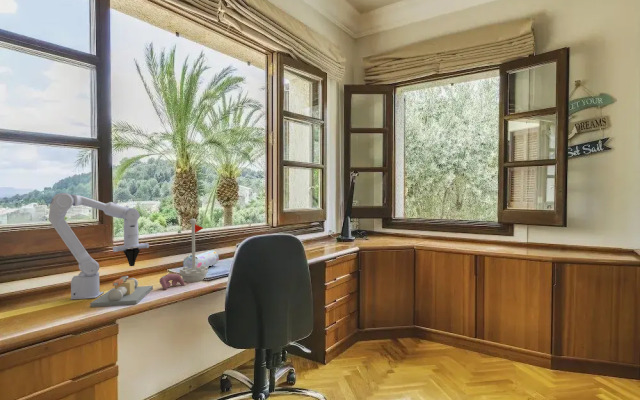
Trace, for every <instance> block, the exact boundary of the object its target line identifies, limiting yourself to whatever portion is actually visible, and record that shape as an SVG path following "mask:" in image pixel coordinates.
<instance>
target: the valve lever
mask: <svg viewBox="0 0 640 400" xmlns="http://www.w3.org/2000/svg"><path fill="white" fill-rule="evenodd" d="M126 279H127V280H128V279H129V276H128V275H122V276H120V278H117V279H115V280H114V281H112V287H115V286H120V285H121V284H122V283H123V281H125V280H126Z"/></svg>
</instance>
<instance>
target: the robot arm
mask: <svg viewBox="0 0 640 400" xmlns="http://www.w3.org/2000/svg"><path fill="white" fill-rule="evenodd" d="M72 206H73V207H79V206H85V207H89V208H93V209H96V210H100V211H102V212H103V213H104V215H106V216H110V217H113V218H116V219H120V220H121V219H123V245H119V246H118V245H117V246H113V247H112V252H122V253H124V256H125V257H126V259H127V261H128V265H129V267H135V265H136V260H137V257H138V256H139V254H140V249H149V247H150V244H149V242H148V243H147V242H146V243H139V240H140V239H139V219H140V216H141V215H140V213H139V211H138V210H137V209H136V208H131V207H129V205H122V204H120V203H119V204H118V202H117V201H113V202H112V201H109V202H107V203H104V202H101V201H98V200H95V199H92V198H89V197H87V196H83V195H79V194H70V193H67V192H59V193H56V194H54V196H53V197H52V199H51V201H50V202H49V211H48V221H49V223H50V224H51V226H53V229H54V230H55V231H56V232H57V234H58V235H59V237H60V238H61V240H62V241H63V242H64V244H65V245H66V247H67V248H68V250H69V252H71V254H72V255H73V257H74V258H75V260H76V261H77V263H78V269H79V271H80V272H79V273H78V275H74V276H73V277H72V278H71V281H70V299H69V300H84V299H85V300H86V299H97V298H99V297H100V296H102V295H103V294H105V293H104V291H100V272H99V270H100V264H99V262H98V261H96V260H95V259H94V258H92V256H91V255H90V254H89V253H88V251H87V250H86V248H85V247H84V246H83V244H82V242H81V241H80V240H79V238H78V237H77V235H76V234H75V232H74V231H73V230H72V228H71V226H70V225H69V223H68V222H67V221H66V219H65V217H66V215H67V213H68V211H69V210H70V209H71V208H72Z"/></svg>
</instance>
